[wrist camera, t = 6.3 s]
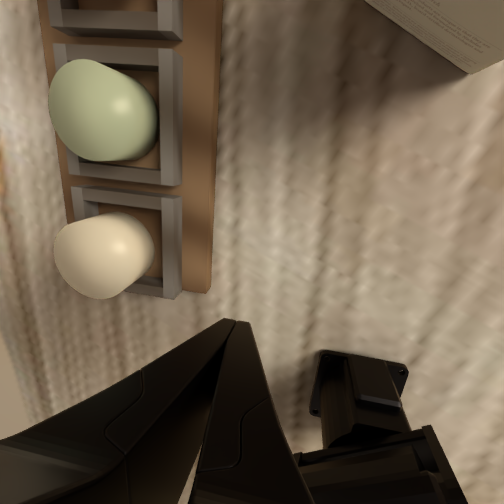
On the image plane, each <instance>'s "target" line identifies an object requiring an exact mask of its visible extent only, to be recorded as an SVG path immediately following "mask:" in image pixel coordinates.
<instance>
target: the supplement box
mask: <svg viewBox="0 0 504 504" xmlns="http://www.w3.org/2000/svg"><path fill="white" fill-rule="evenodd" d="M365 1H366V2H367V3H368V4H370V5H371V6H372V7H374V8H375V9H377V10H378V11H379V12H381V13H382V14H383V15H385V16H387V17H388V18H389V19H391V20H392V21H394V22H395V23H397V24H398V25H399V26H401V27H402V28H403V29H404V30H406V31H407V32H409V33H411V34H412V35H413V36H415V37H416V38H418V39H419V40H420V41H422V42H423V43H424V44H426V45H427V46H429V47H430V48H432V49H433V50H435V51H436V52H437V53H439V54H440V55H442V56H443V57H445V58H446V59H448V60H449V61H451V62H452V63H453V64H454V65H456V66H457V67H459V68H461V69H462V70H464V71H465V72H467V73H468V74H474V73H476V72H479V71H481V70H483V69H485V68H487V67H489V66H491V65H493V64H495V63H497V62H499V61H501V60H503V59H504V0H365Z"/></svg>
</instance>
